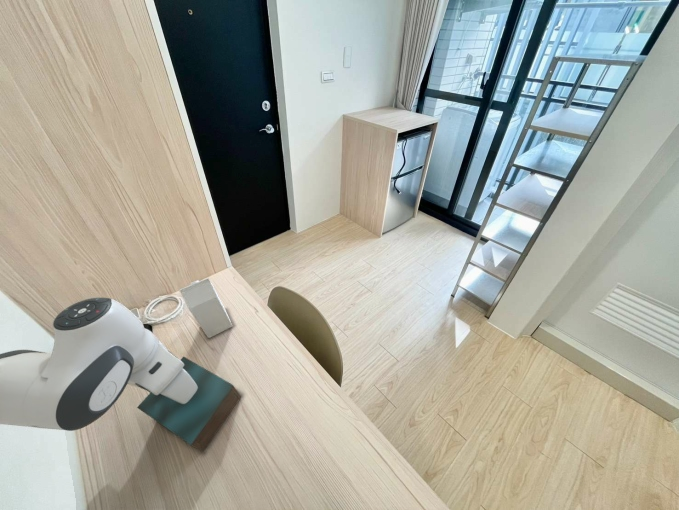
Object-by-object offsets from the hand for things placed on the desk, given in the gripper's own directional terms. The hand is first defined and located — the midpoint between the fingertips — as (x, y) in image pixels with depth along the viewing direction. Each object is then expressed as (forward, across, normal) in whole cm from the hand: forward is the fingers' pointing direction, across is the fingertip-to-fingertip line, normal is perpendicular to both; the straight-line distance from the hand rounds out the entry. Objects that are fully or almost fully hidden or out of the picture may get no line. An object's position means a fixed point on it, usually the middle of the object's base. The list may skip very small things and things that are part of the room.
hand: (169, 384), depth 61 cm
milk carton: (+8, -7, +19) cm, 22 cm away
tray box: (+8, +6, 0) cm, 10 cm away
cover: (+1, +5, 0) cm, 5 cm away
